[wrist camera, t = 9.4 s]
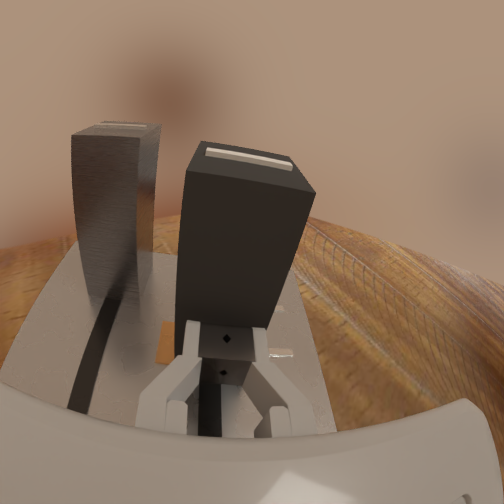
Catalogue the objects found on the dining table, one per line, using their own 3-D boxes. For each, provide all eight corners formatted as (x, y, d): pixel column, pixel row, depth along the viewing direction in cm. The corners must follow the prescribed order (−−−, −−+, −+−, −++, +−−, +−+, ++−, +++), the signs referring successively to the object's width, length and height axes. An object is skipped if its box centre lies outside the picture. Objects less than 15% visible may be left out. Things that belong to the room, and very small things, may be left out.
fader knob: (242, 322, 18) (290, 152, 12) (246, 379, 14) (318, 187, 8) (181, 315, 17) (201, 136, 11) (174, 373, 14) (186, 164, 8)
